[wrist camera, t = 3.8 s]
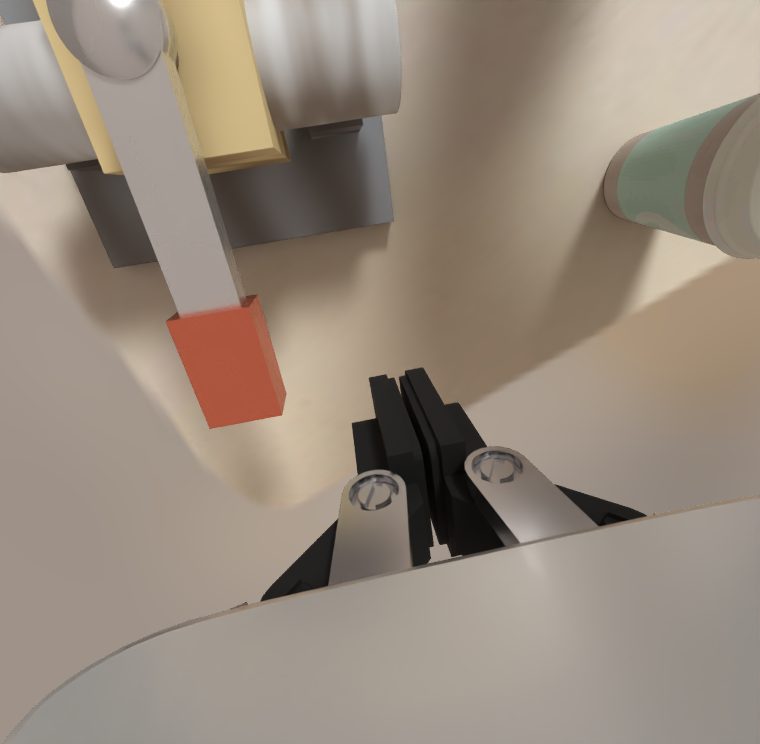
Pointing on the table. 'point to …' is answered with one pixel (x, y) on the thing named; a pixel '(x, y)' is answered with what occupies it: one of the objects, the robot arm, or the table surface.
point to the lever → (175, 202)
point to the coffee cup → (695, 178)
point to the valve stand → (225, 115)
